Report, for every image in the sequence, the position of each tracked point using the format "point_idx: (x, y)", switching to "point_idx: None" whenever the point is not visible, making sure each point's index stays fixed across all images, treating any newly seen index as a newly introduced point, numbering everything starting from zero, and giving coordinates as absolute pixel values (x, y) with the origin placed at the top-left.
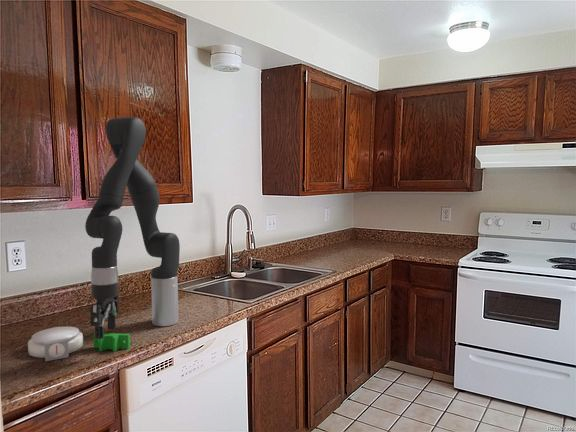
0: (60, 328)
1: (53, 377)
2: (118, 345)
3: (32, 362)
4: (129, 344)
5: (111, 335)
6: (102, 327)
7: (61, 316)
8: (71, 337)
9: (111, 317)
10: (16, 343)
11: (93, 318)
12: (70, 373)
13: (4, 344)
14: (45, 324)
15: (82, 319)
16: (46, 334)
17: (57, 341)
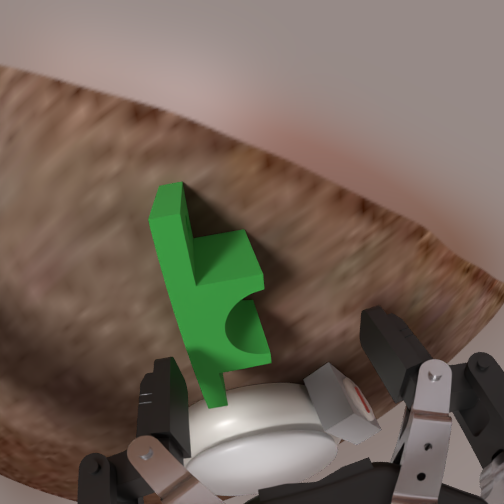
0: (214, 486)
1: (461, 286)
2: (203, 247)
3: None
4: (166, 190)
5: (221, 323)
6: (416, 356)
7: (74, 492)
8: (282, 434)
9: (176, 446)
10: None
11: (478, 427)
12: (449, 260)
13: None
14: None
15: (51, 467)
16: (275, 478)
17: (357, 427)
